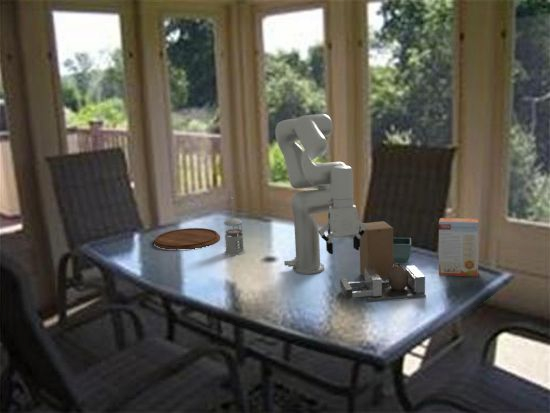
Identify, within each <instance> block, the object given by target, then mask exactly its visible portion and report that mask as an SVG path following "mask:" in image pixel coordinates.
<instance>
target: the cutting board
mask: <svg viewBox="0 0 550 413" xmlns="http://www.w3.org/2000/svg"><path fill="white" fill-rule="evenodd" d="M220 240H221V236H220V234H219V233H218V232H217V231H216V230H214V229H210V228H204V227H203V228H202V227H189V228H179V229H175V230H169V231H166V232H163V233H161V234H158V235H157V236H156V237H155V238H154V240H153V241H154V244H155V245H156V246H158V247H160V248H165V249H176V250H177V249H194V250H196V249H195V248H200V249H203V248H202V247H204V248H207V247H206V246H208V247H210V245H211V246H213V245H215V244H216V243H218V242H220Z"/></svg>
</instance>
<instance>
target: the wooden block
mask: <svg viewBox="0 0 550 413" xmlns="http://www.w3.org/2000/svg"><path fill="white" fill-rule="evenodd" d="M363 223H364V224H366V225H367V227H366V229H365V231H364V234H363V235H362V236H361V239H360V247H359V271H360V275H362V277H363V278H364V279H365V268H374V270H375V271H376V272H377V274H378V275H379V276H380V278H381V279H382V281H388V275H389V272H390V271H391V269H392V268H393V267H394V263H393V238H394V227H392V226H391V225H390V224H389V223H387V222H385V221H384V220H382V221H374V222H363ZM360 229H361V226H359V230H360Z"/></svg>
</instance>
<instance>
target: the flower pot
mask: <svg viewBox="0 0 550 413" xmlns="http://www.w3.org/2000/svg"><path fill="white" fill-rule="evenodd" d="M411 250H412V238H411V237H393V265H395V264H401V265H402V264H403V265H406V264H407V263H408V261H409V260H410V256H411Z"/></svg>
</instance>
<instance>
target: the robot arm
mask: <svg viewBox="0 0 550 413" xmlns="http://www.w3.org/2000/svg"><path fill="white" fill-rule="evenodd" d="M274 130H275V139H276V142H277V145H278V148H279V149H280V151H281V154H282V155H283V159H284V162H285V167H286V172H287V175H288V180H289V183H290V186H291V187H292V189H296V190H300V189H301V190H303V189H310V190H304V191H299V192H295V193H294V194H293V195H292V196H291V199H290V208H291V212H292V217H293V224H294V241H295V242H294V245H295V257H294V259H292V260H284V266H285V267H286V266H288V267H289V268H291V267H292V271H293V272H294V273H296V274H300V275H313V274H319V273H322V272H323V271H324V270H325V265H324V264H323V263H321V252H320V251H321V249H320V247H321V246H320V238H322V240H324V241H325V246H326V252H327V253H328V254H330V255H333V254H334V250H333V249H334V247H333V246H334V244H333V242H332V241H333V240H334V239H337V238H345V237H352V236H354V237H353V239H352V242H353V249H354V250H356V251H360V239H361V236H362V235H363V234H364V231H365V229H366V227H367V225H366V224H364V223H365V222H361V221H359V215H358V209H357V206H356V205H355V204H354V173H353V172H354V171H353V168H352V167H351V166H349V165H347V164H345V163H344V162H342V161H332V162H313V161H314V160H315V159H316V158H318V157H319V156H321V155H323V153H325V152H326V150H327V149H328V144H329V143H328V141H327V137H329V136H331V134H332V133H333V130H334V123H333V121H332V119H331V117H330V116H329V115H327V114H325V113H318V114H305V115H302V116H301V115H300V116H299V117H297V118H289V119H284V120H281V121H280V122H278V123H277V124H276V126H275V129H274ZM297 141H300V143H301V146H302V147H303V148H302V147H301V146H300V145H299V144H298V142H297ZM311 188H317V189H311ZM326 213H327V221H326V222H327V224H326V225H324V226H323V227H322V228H320V227H319V223H318V222H317V220H316V219H314V217H313V216H314V215H321V214H326ZM359 226H361V229H360V230H359ZM325 232H327V235H326V234H325ZM288 267H287V268H288Z"/></svg>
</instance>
